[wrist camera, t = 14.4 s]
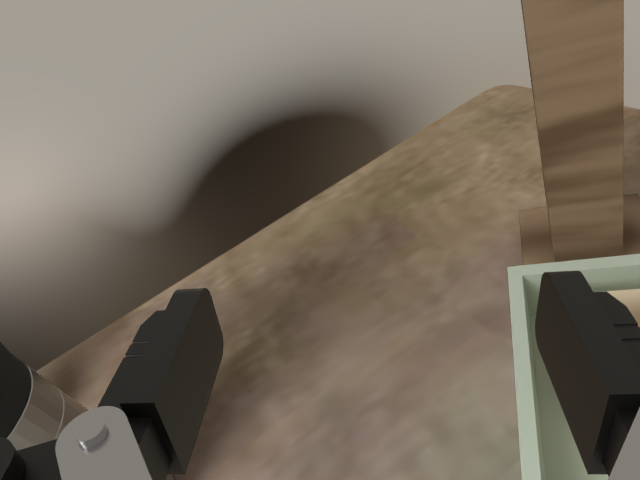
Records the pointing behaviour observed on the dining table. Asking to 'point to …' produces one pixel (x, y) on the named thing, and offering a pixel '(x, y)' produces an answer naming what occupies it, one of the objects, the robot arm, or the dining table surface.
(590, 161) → the shelf stand
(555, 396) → the open box
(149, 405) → the robot arm
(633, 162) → the dining table surface
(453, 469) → the dining table surface
